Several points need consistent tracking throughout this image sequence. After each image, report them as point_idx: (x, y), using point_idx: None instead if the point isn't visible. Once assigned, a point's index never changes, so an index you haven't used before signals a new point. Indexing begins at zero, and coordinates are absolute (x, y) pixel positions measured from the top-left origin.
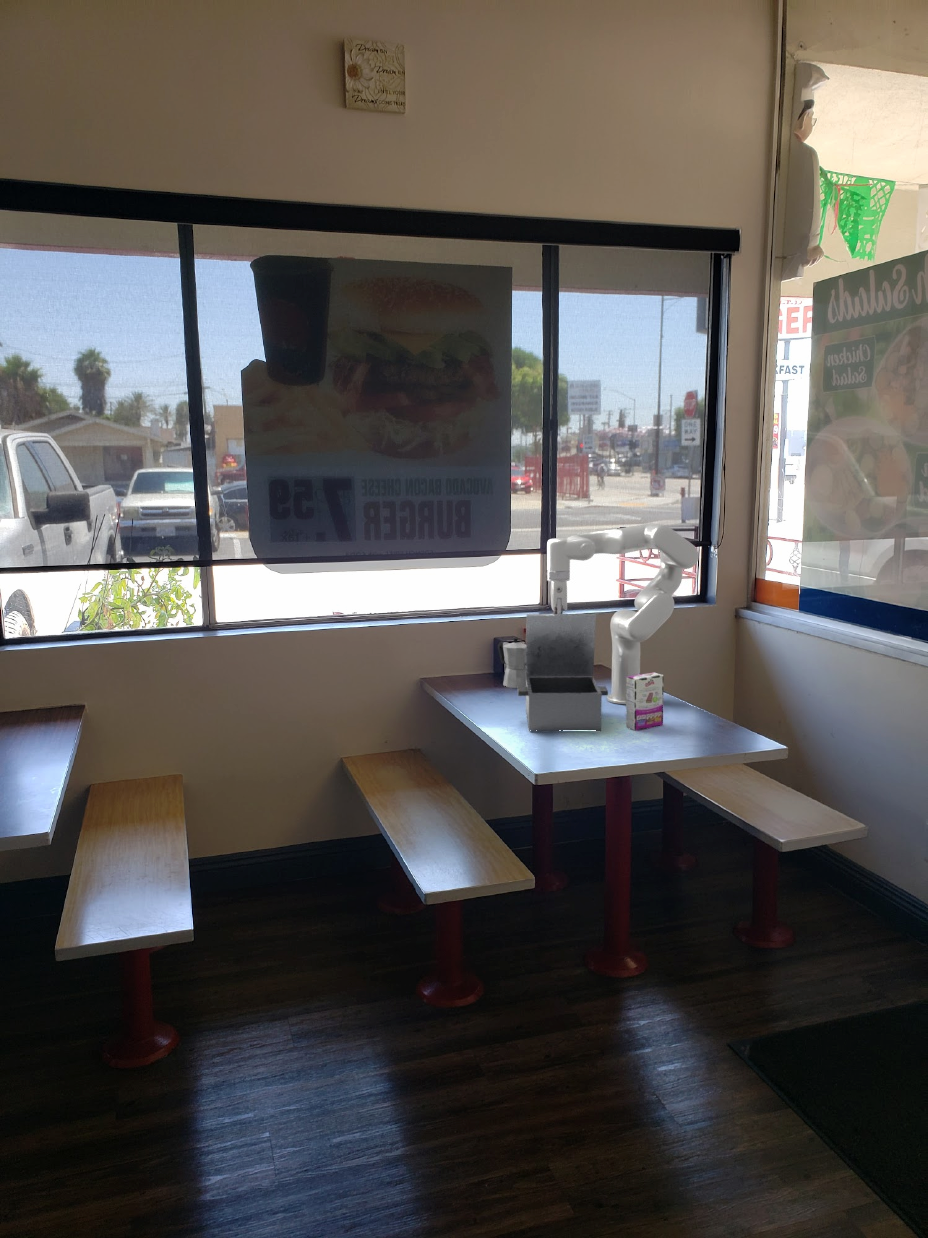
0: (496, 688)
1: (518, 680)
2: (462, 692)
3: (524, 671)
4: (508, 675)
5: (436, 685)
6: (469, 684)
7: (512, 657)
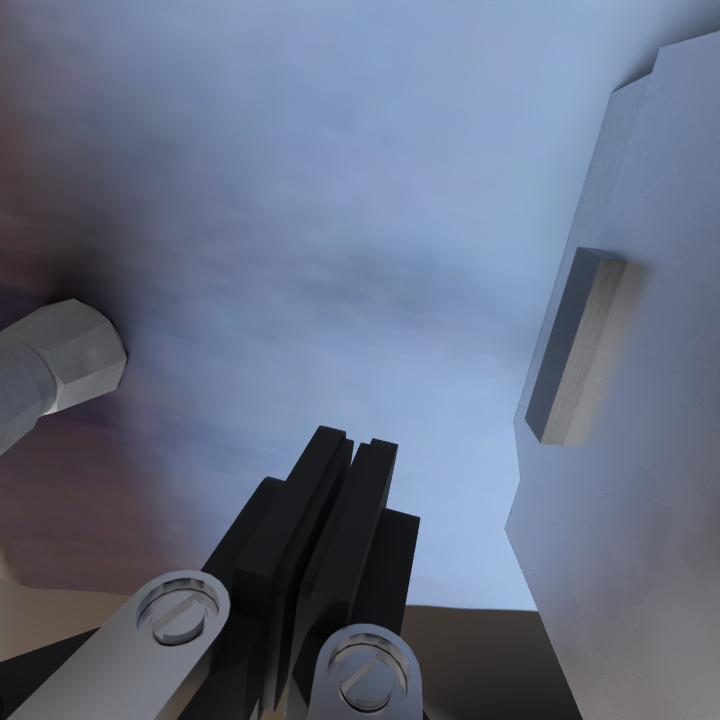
0: (132, 427)
1: (98, 358)
2: (189, 543)
3: (40, 337)
4: (76, 403)
5: (104, 584)
6: (83, 495)
7: (9, 433)
